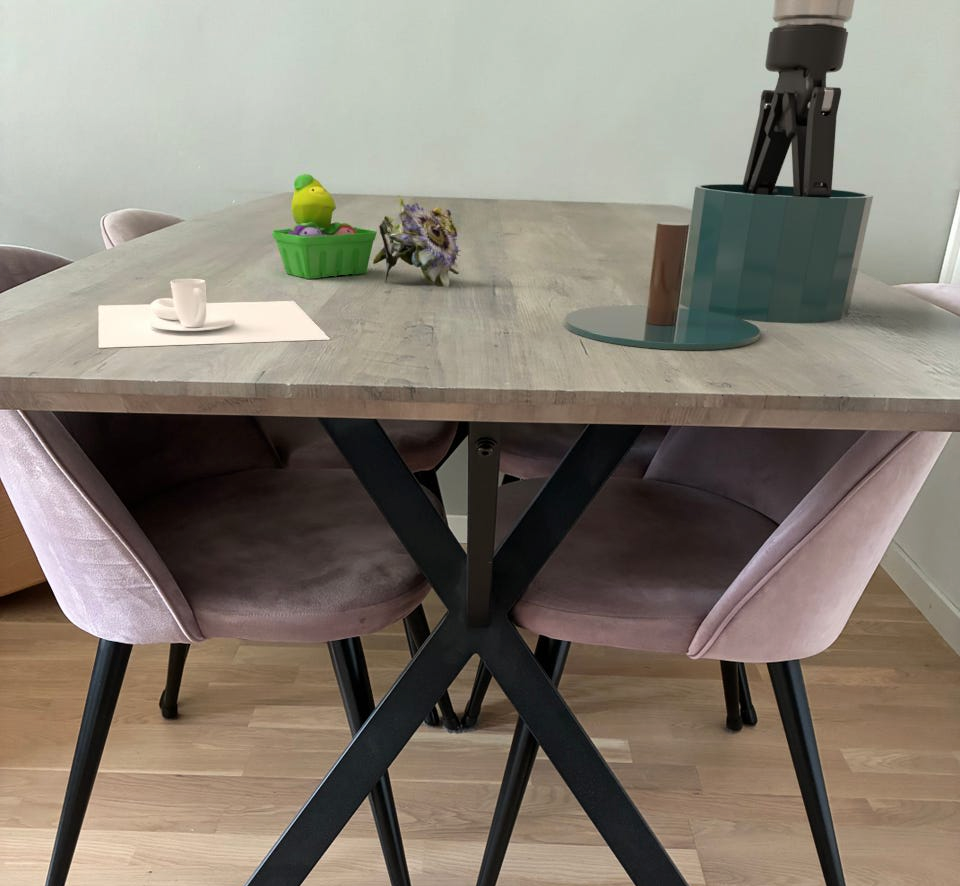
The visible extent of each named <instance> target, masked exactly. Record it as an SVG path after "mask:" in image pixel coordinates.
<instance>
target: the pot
mask: <svg viewBox="0 0 960 886" xmlns="http://www.w3.org/2000/svg"><path fill="white" fill-rule="evenodd" d="M775 187H776V189H777V191H778V193H779V194H778V195H764V194H750V193H748V188H744V187H743V183H706V184H696V185H695V187H694V194H693V202H692V209H691V217H690V224H689V231H688V238H687V246H686V254H685V261H684V269H683V277H682V284H681V292H680V300H679V305H682V306H684V308H686V309H693V310H700V311H707V312H713V313H718V314H723V315H727V316H732V317H735V318H739V319H742V320H745V321H752V322H761V323H775V324H776V323H777V324H819V323H821V324H822V323H830V322H835V321H841V320H843V319H845V318H847V317H848V316H849V311H850V308H851V304H852V298H853V294H854V293H853V292H854V289H855V285H856V284H855V283H856V279H857V274H858V270H859V265H860V260H861V255H862V250H863V246H864V241H865V237H866V232H867V227H868V223H869V217H870V213H871V208H872V205H873V204H872V203H873V199H874V196H873V195H872V194H870V193H865V192H859V191H853V190H852V191H851V190H842V189H835V188H832V191H831V196H830V197H801V196H792V195H794V189H793V185H777V184H776V185H775Z"/></svg>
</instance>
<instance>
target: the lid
mask: <svg viewBox="0 0 960 886" xmlns="http://www.w3.org/2000/svg"><path fill="white" fill-rule="evenodd" d="M689 231H690V224H689V223H687V222H686V223H685V222H678V221H658V222H657V223H656V226H655V234H654V235H655V236H654V245H653V255H652V261H651V262H652V263H651V272H650V279H649V289H648V296H647V305H629V304H627V305H625V304H624V305H601V306H592V307H585V308H581V309H576V310H573V311H570V312H569V313H567V314H566V315H565V316H564V318H563V325H564V327H565V328H566V329H567V330H568V331H569V332H572V333H574V334H576V335H579V336H581V337H584V338H588V339H590V340H595V341H599V342H604V343H609V344H614V345H620V346H627V347H634V348H644V349H652V350H653V349H654V350H670V351H672V350H673V351H714V350H728V349H734V348H735V349H736V348H741V347H745V346H748V345H752V344H754V343H755V342H757V341H758V340H759V338H760V334H761V331H760V328H759V327H758V326H757V325H756V324H754V323H752V322H749V321H748V320H742V319H739V318H735V317H732V316H727V315H723V314H718V313H713V312H707V311H700V310H693V309H689V308H685V307H684V308H683V307H680V301H681V293H682V285H683V277H684V270H685V262H686V254H687V246H688V239H689Z"/></svg>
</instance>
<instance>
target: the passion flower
mask: <svg viewBox="0 0 960 886" xmlns="http://www.w3.org/2000/svg"><path fill="white" fill-rule="evenodd" d="M397 200H398V204H399V208H400V211H401V212H400V213H399V214H398V216H399V218H400V221H401V222H400V223H399V224H397V225H393V224H392V223H393V222H394V220H395V218H394V217H390V216H388V215H385V216H384V218H383V219H382V221H381V222H382V223H380V224H379V226H378V228H379V233H380V235H381V239H382V242H383V248H381V249H380V250H379V252H378V253H377V254H376V255H375V257H374V258H373V260H372V264H373V265H376V264H378V263H380V262H382V261H384V260H385V263H384V264H385V265H384V277H385V278H384V282H385V283H387V282H388V278H389V274H390V270H391V269H392V268H393V267H395V266H396V265H397V263H398V259H401V260H402V261H403V262H404V263H406V264H408V265H409V266H414V267H416V268H420V269H421V272H422V275H423V276H424V278H425V280H426V281H427V282H428V283H430V284H431V285H435V284H436V285H437V286H438V287H449V286H450V277H449V272H452V273H453V274H455V275H459V274H460V269H459V267H458V266H459V265H458V264H457V262H456V260H457V259H458V257H461V255H459V252H461V250H460V249H459V246H458V245H457V240H458V239H457V237H458V227H457V225H456V224H455V223H454V222H453V218H452V217H451V216H452V212H451V211H450V209H445V210H444V211H445V212H444V211H443V209H442V207H441V206H437V207H435V208H434V209H430V210H429V209H428V210H427V211H426V210H425V209H424V207H421V206H419V203H418V202H414V203H412V205H410V204H407V202H406V199H405V198H404V196H402V195H400V194H399V195H398V196H397ZM386 236H387V237H388V239H387V237H386ZM388 240H389V241H388ZM457 256H458V257H457Z"/></svg>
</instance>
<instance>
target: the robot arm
mask: <svg viewBox="0 0 960 886" xmlns="http://www.w3.org/2000/svg"><path fill="white" fill-rule="evenodd" d="M854 5H855V0H774V5H773V12H772V20H773V21H774V22H775V23H777V27H773V28H772V29H771V31H769V36H768V42H767V43H768V44H767V50H766V58H765V64H764V67H765V69H766V70H767V71H768V72H773V73H775V72H776V73H778V78H777V81H776V86H775V88H774V89H763V90H762V92H761V95H760V104H759V112H758V117H757V122H756V125H755V131H754V135H753V138H752V142H751V143H752V144H751V147H750V152H749V156H748V161H747V164H746V169H745V173H744V177H743V181H742V184H743V187H744V188H748V193H750V194H764V195H778V194H779V193H778V191H777V189H776V187H775V185H777V182H778V179H779V176H780V173H781V171H782V168H783V166H784V162H785V160H786V157H787V155H788V152H789V149H790V147H791V164H792V165H791V166H792V184H793V185H792V186H793V189H794V195H792V196H801V197H830V196H831V191H832V189H833V178H834V177H833V174H834V160H835V147H836V145H835V144H836V133H837V132H836V131H837V117H838V110H839V105H840V100H841V96H842V88H841V87H835V86H834V87H831V86H827V74H828V73H829V74H830V73H836V72H837V73H838V72H839V71H840V70H841V69H842V67H843V65H844V60H845V54H846V48H847V44H848V43H847V42H848V36H849V31H847V28H846V27H844V26H845V23H848V22H850V20H851V19H852V16H853V10H854Z"/></svg>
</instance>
